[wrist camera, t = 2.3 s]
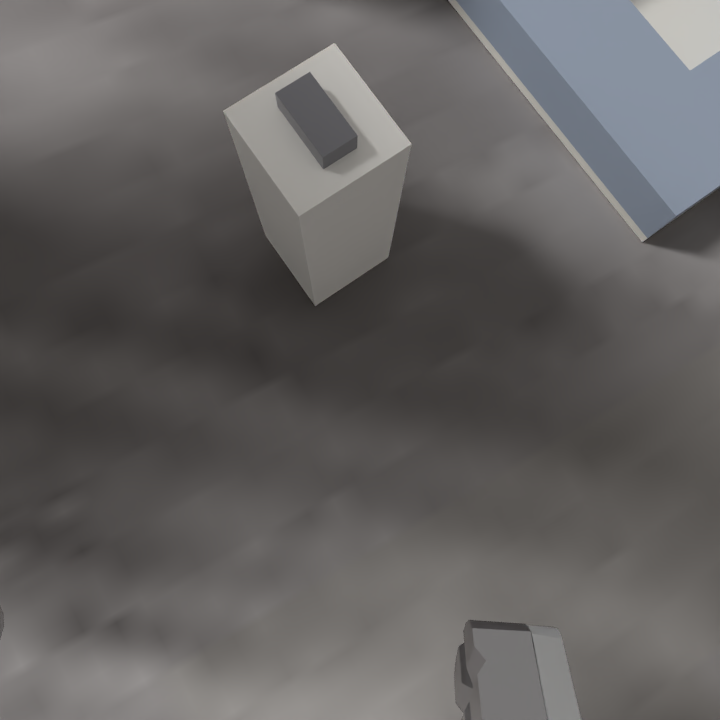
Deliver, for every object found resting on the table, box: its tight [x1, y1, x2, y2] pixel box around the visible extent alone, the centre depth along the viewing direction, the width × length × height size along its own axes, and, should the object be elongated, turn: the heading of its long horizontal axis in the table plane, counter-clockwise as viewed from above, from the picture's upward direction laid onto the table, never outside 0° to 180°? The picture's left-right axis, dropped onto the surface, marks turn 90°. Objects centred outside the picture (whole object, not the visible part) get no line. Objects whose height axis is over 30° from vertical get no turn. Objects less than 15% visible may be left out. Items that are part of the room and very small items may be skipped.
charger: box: [223, 43, 412, 306], centre depth 23 cm, size 4×4×11 cm
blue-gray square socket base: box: [448, 0, 720, 242], centre depth 29 cm, size 16×16×3 cm
